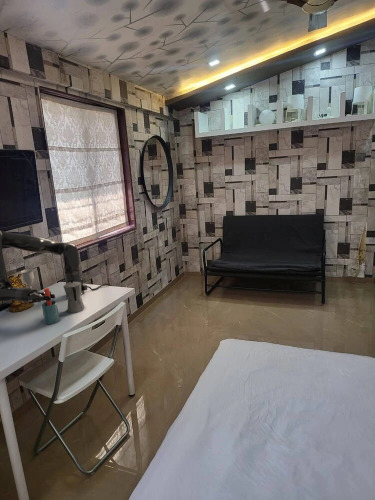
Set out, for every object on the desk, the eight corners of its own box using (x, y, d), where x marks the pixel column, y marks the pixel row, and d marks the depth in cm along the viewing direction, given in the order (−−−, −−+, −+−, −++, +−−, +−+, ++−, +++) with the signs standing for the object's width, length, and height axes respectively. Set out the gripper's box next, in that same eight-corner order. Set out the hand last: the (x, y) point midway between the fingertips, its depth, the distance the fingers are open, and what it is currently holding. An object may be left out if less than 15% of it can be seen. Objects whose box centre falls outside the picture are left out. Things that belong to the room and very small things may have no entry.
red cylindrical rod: (51, 312, 173) (47, 287, 170) (54, 313, 172) (49, 288, 169) (47, 314, 172) (42, 289, 168) (50, 315, 170) (45, 290, 167)
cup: (54, 317, 178) (51, 299, 175) (62, 319, 174) (59, 302, 171) (42, 322, 172) (38, 304, 170) (50, 325, 168) (47, 307, 166)
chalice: (33, 300, 204) (28, 272, 200) (23, 299, 206) (18, 272, 202) (40, 295, 211) (35, 268, 207) (31, 295, 213) (26, 268, 208)
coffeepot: (66, 307, 190) (61, 277, 185) (83, 303, 193) (78, 274, 189) (69, 317, 176) (64, 285, 172) (87, 313, 180) (82, 282, 176)
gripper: (14, 293, 167) (41, 295, 161) (35, 283, 180) (60, 286, 174) (17, 306, 169) (43, 309, 163) (37, 296, 182) (62, 299, 176)
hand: (52, 297), depth 169 cm, fingers closed on red cylindrical rod, 2 cm apart
